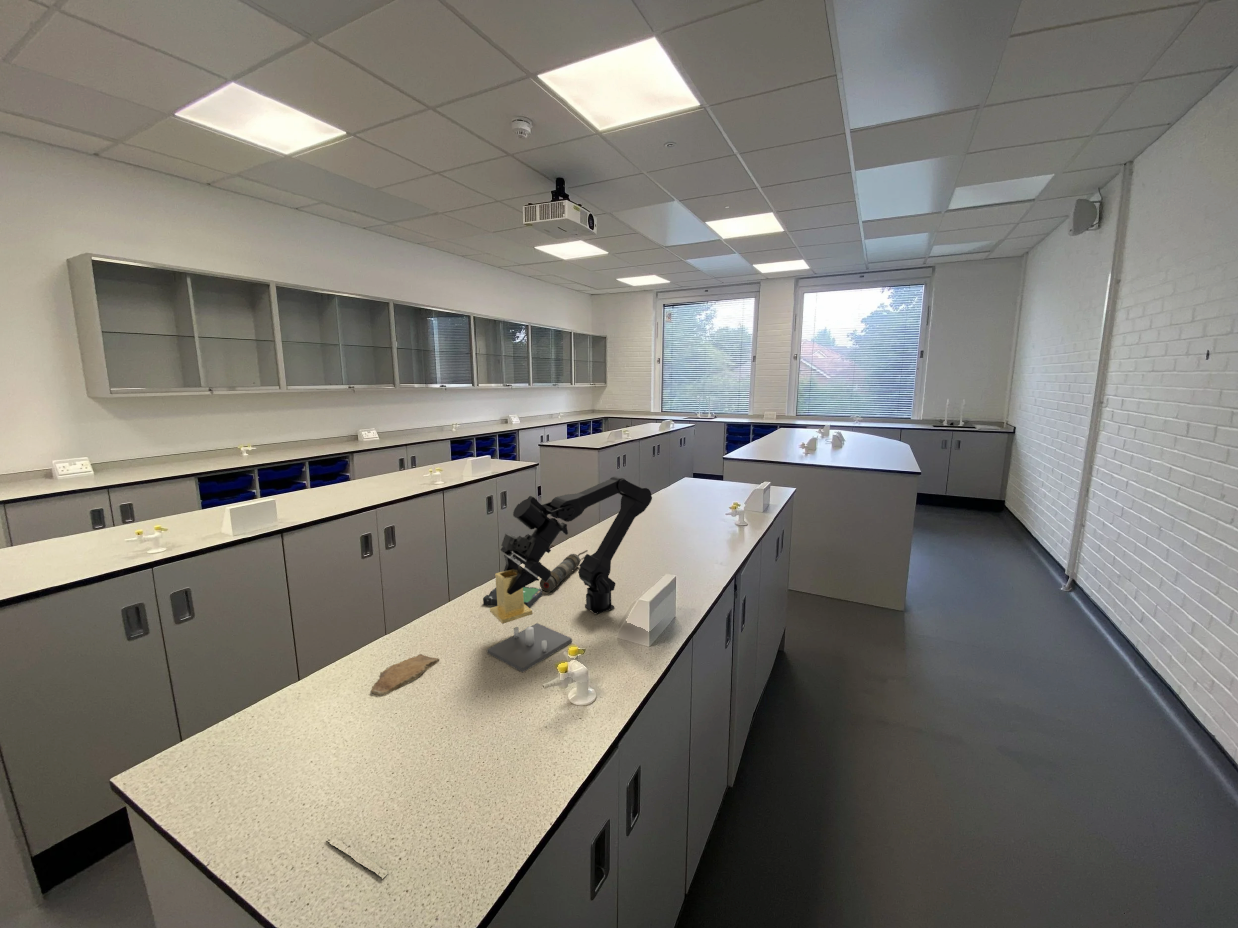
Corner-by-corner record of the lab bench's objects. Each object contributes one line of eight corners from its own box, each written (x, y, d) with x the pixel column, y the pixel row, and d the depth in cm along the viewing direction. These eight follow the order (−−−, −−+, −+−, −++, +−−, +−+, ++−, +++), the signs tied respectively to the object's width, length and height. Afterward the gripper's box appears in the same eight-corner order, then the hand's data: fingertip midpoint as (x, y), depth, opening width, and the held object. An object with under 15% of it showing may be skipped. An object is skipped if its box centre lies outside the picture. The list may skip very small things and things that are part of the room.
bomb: (592, 556, 180) (592, 543, 180) (553, 593, 149) (553, 578, 148) (580, 554, 182) (579, 542, 181) (539, 591, 150) (538, 576, 150)
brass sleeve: (518, 602, 127) (516, 565, 125) (532, 614, 121) (530, 574, 119) (490, 611, 123) (487, 573, 121) (502, 623, 116) (499, 583, 114)
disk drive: (483, 607, 142) (529, 611, 138) (482, 598, 141) (528, 602, 138) (499, 592, 152) (543, 595, 148) (499, 583, 151) (542, 587, 148)
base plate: (537, 626, 128) (536, 609, 128) (571, 641, 120) (571, 623, 120) (487, 652, 116) (486, 633, 115) (522, 672, 108) (521, 651, 107)
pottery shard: (445, 665, 112) (444, 658, 112) (379, 701, 100) (378, 693, 100) (426, 654, 117) (426, 648, 116) (361, 687, 104) (360, 680, 104)
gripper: (505, 514, 127) (467, 563, 123) (537, 530, 113) (495, 587, 108) (533, 536, 133) (498, 583, 129) (567, 554, 118) (529, 609, 114)
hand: (504, 590), depth 120 cm, fingers closed on brass sleeve, 5 cm apart
